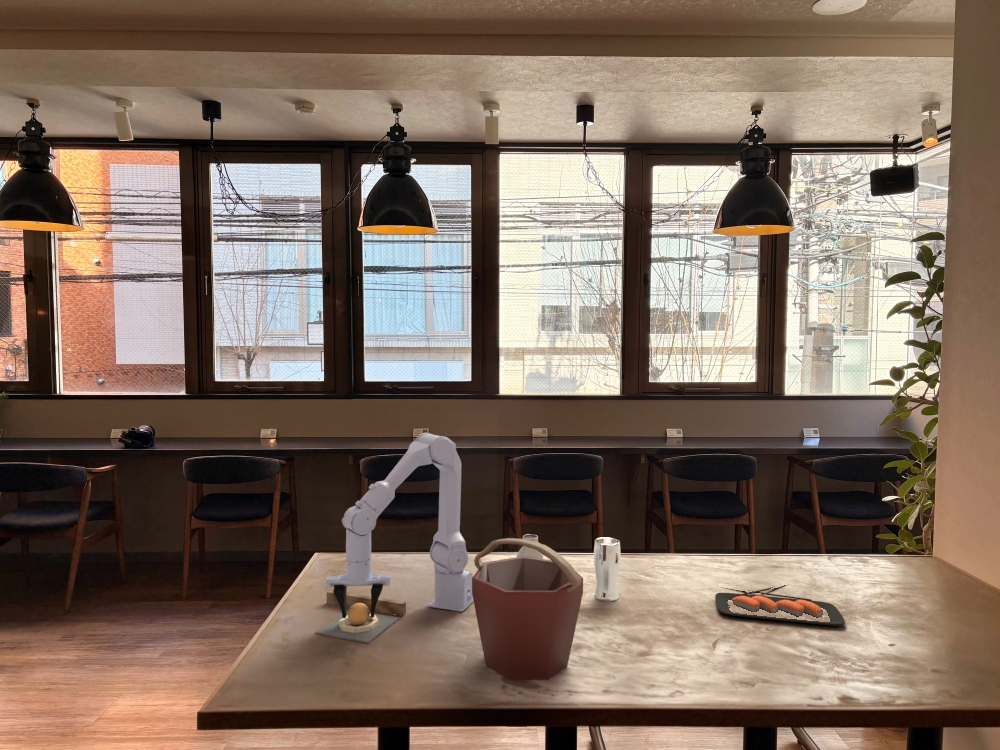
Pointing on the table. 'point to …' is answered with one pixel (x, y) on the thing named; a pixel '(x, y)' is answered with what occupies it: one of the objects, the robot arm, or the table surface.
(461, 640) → the table surface
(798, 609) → the sushi plate
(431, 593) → the table surface
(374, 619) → the cradle
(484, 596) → the bucket
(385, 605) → the fence
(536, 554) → the plastic bottle
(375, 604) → the robot arm
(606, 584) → the beer glass
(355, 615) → the ball
